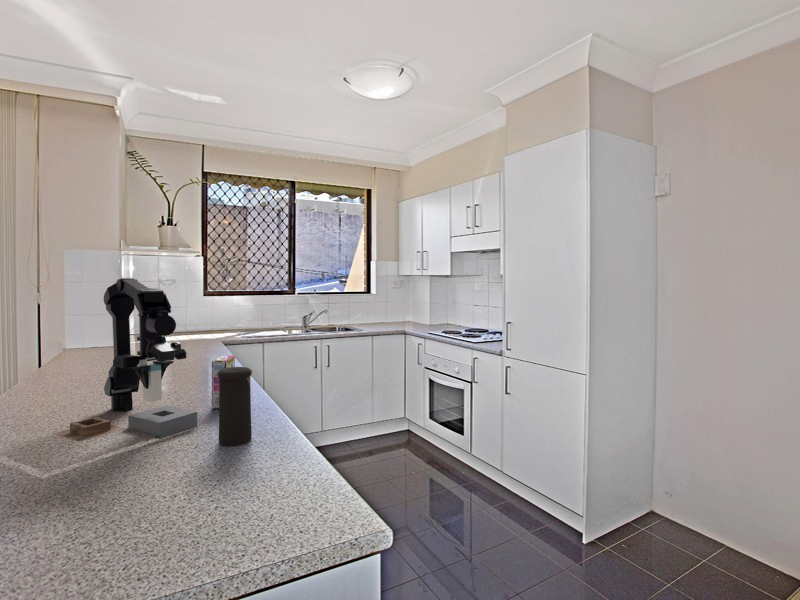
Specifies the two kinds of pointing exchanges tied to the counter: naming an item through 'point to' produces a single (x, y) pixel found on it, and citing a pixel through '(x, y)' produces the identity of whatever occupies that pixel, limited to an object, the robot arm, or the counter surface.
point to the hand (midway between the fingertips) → (152, 387)
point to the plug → (153, 384)
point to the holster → (89, 429)
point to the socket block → (163, 421)
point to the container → (234, 406)
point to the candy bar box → (217, 366)
